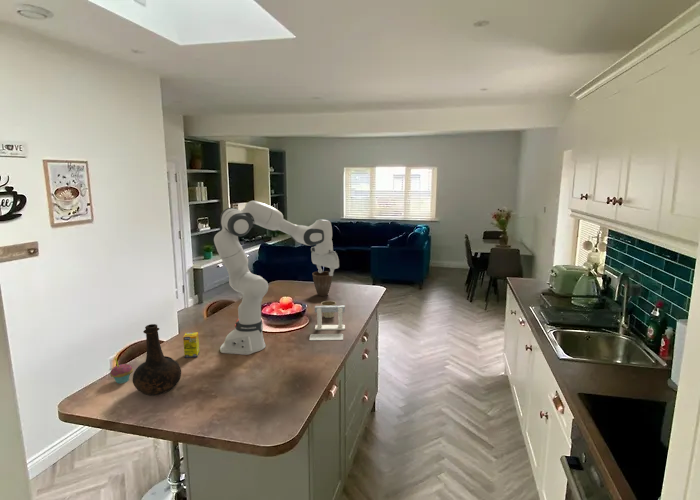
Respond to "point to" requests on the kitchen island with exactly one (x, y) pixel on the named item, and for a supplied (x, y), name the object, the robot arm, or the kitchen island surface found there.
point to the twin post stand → (329, 327)
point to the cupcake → (121, 372)
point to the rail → (330, 308)
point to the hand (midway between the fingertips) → (325, 274)
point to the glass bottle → (156, 367)
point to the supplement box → (191, 345)
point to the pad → (326, 337)
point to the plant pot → (322, 282)
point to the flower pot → (328, 303)
